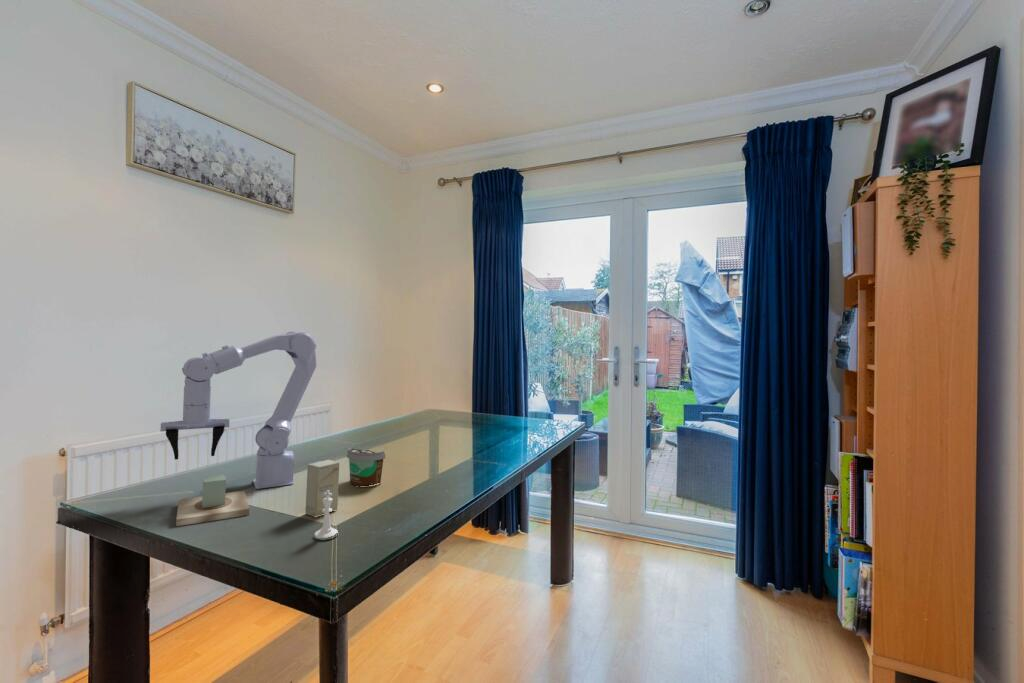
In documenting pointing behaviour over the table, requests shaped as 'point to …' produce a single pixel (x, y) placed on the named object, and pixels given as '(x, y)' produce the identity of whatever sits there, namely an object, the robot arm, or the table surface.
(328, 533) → the chess piece
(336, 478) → the skincare box
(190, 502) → the display base
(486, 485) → the table surface
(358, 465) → the food container
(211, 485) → the green block
